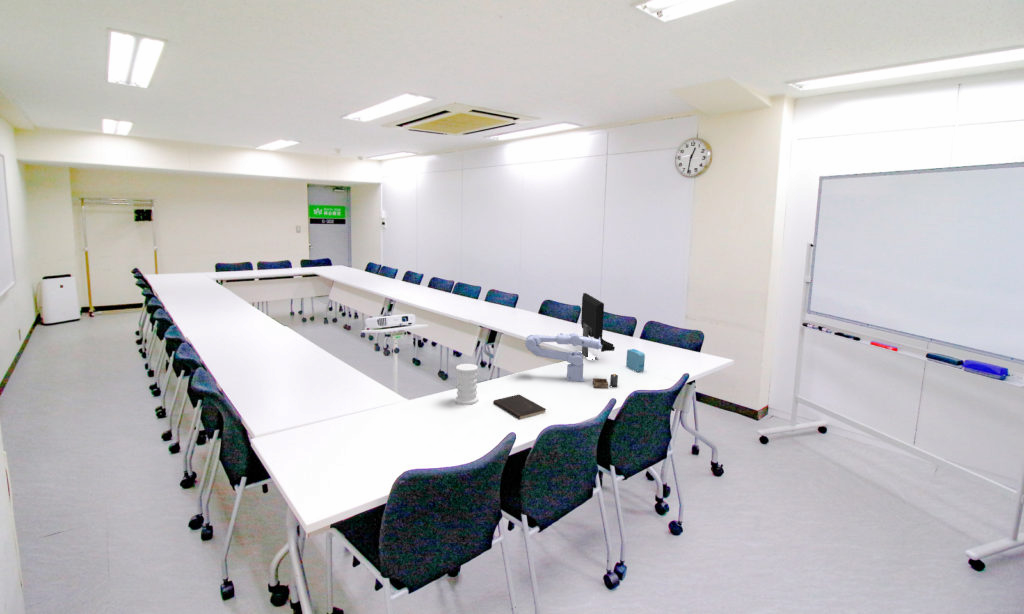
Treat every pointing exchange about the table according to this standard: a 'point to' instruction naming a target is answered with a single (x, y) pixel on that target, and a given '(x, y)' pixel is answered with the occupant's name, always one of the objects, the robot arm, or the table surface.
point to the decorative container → (466, 384)
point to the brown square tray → (600, 383)
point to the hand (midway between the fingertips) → (613, 347)
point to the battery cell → (614, 380)
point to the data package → (635, 360)
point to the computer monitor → (591, 319)
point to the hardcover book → (519, 406)
